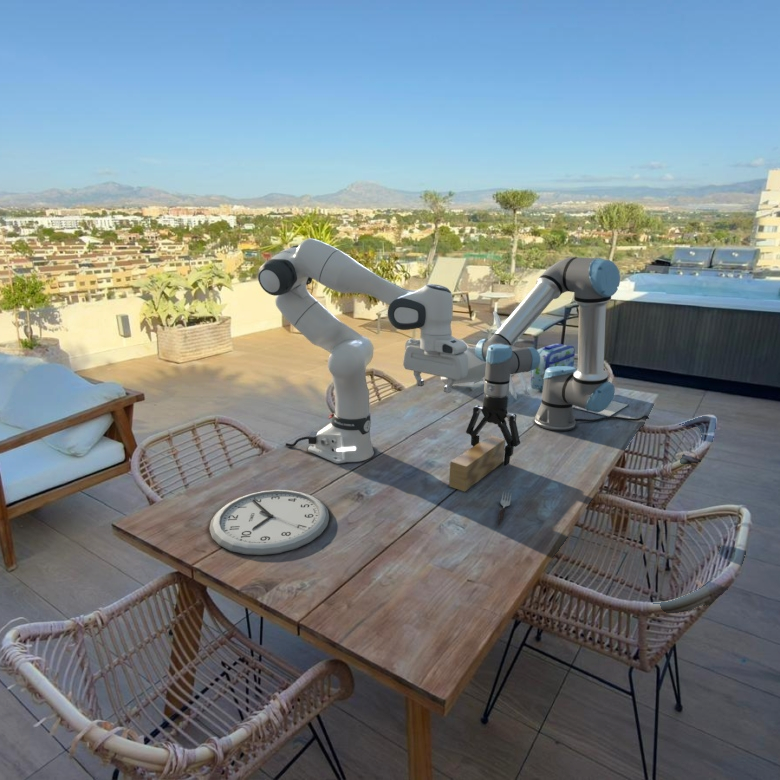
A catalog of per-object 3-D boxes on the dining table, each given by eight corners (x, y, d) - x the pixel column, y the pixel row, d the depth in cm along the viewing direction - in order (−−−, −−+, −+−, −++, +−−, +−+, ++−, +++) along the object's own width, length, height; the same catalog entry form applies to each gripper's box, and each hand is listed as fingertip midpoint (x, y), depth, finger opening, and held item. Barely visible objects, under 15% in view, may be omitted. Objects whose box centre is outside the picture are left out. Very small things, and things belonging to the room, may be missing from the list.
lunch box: (547, 395, 239) (552, 351, 233) (526, 390, 247) (530, 347, 240) (574, 384, 257) (579, 343, 251) (554, 380, 264) (558, 339, 258)
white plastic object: (461, 429, 252) (437, 405, 227) (444, 352, 274) (420, 323, 250) (535, 404, 240) (518, 377, 215) (510, 326, 262) (492, 293, 237)
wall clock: (327, 546, 121) (194, 551, 119) (327, 552, 122) (195, 557, 119) (330, 485, 150) (223, 488, 147) (330, 490, 150) (224, 493, 148)
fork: (492, 526, 134) (493, 519, 133) (502, 497, 148) (502, 491, 148) (503, 528, 133) (503, 521, 132) (511, 499, 147) (512, 492, 147)
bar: (488, 457, 174) (490, 435, 172) (503, 462, 171) (505, 439, 169) (448, 486, 154) (450, 461, 152) (464, 491, 151) (466, 466, 149)
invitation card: (608, 416, 214) (573, 407, 224) (608, 416, 214) (573, 408, 224) (628, 404, 229) (594, 396, 238) (628, 405, 229) (594, 397, 238)
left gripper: (399, 339, 153) (398, 384, 157) (461, 349, 141) (458, 398, 145) (411, 336, 157) (410, 380, 162) (472, 345, 146) (469, 393, 150)
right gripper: (457, 390, 166) (453, 454, 173) (526, 405, 153) (519, 473, 160) (469, 385, 172) (465, 446, 178) (535, 399, 159) (528, 465, 165)
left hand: (433, 388), depth 153 cm, fingers open, 8 cm apart
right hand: (490, 459), depth 169 cm, fingers open, 10 cm apart
